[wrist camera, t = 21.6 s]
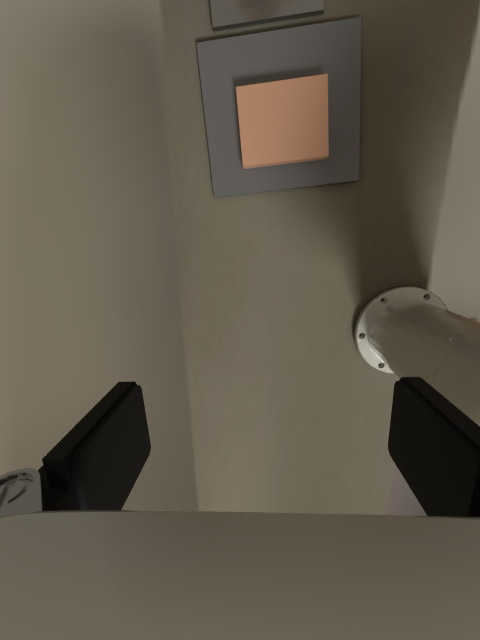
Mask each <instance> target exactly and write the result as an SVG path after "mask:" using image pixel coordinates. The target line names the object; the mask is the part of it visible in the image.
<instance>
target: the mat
mask: <svg viewBox="0 0 480 640" xmlns="http://www.w3.org/2000/svg"><path fill="white" fill-rule="evenodd" d="M361 34H362V17H357V18H350V19H344V20H338V21H331V22H325V23H319V24H312V25H306V26H299V27H293V28H287V29H280V30H274V31H268V32H261V33H255V34H248V35H242V36H236V37H229V38H223V39H217V40H210V41H204V42H197V43H196V44H197V52H198V61H199V70H200V79H201V88H202V96H203V105H204V114H205V123H206V131H207V140H208V149H209V158H210V166H211V175H212V184H213V193H214V197H222V196H230V195H239V194H248V193H256V192H265V191H274V190H283V189H291V188H300V187H309V186H317V185H326V184H335V183H344V182H352V181H359V168H360V101H361ZM322 74H328V142H329V156H328V157H327V159H322V160H314V161H306V162H297V163H289V164H281V165H273V166H264V167H256V168H248V169H243V163H242V151H241V139H240V128H239V116H238V105H237V93H236V87H238V86H245V85H252V84H259V83H266V82H273V81H280V80H287V79H294V78H301V77H308V76H315V75H322Z"/></svg>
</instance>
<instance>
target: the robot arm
mask: <svg viewBox="0 0 480 640" xmlns="http://www.w3.org/2000/svg"><path fill="white" fill-rule="evenodd" d="M424 295H425V296H424ZM382 298H383V300H382V301H381V299H382ZM360 333H362V334H361V335H359V334H360ZM354 339H355V344H356V347H357V350H358V352H359V353H360V355H361V356H362V358H363V359H364V360H365V361H366V362H367V363H368V364H369V365H371V366H372V367H373V368H375V369H377V370H379V371H382V372H386V373H392V374H396V375H397V376H398V377H399V378H400V380H399V381H396V382H395V385H394V394H393V403H392V413H391V422H390V432H389V441H388V449H389V453H390V456H391V457H392V459H393V461H394V462H395V464H396V466H397V467H398V469H399V470H400V472H401V474H402V475H403V477H404V479H405V480H406V482H407V483H408V485H409V487H410V488H411V490H412V491H413V493H414V495H415V496H416V498H417V499H418V501H419V503H420V504H421V506H422V508H423V509H424V511H425V513H426V514H427V516H409V515H407V516H405V515H367V514H319V513H267V512H208V511H131V510H126V511H125V510H121V509H122V507H123V505H124V503H125V501H126V500H127V498H128V496H129V494H130V492H131V490H132V488H133V486H134V484H135V482H136V480H137V478H138V476H139V474H140V472H141V470H142V468H143V466H144V464H145V462H146V460H147V458H148V456H149V454H150V449H151V444H150V438H149V432H148V425H147V420H146V413H145V407H144V401H143V395H142V389H141V387H140V386H139V385H137V384H136V383H135V382H119V383H117V384H116V385H115V386H114V387H113V388H112V389H111V390H110V391H109V392H108V393H107V394H106V395H105V396H104V397H103V398H102V399H101V400H100V401H99V402H98V403H97V404H96V405H95V407H93V408H92V409H91V410H90V411H89V413H88V414H87V415H85V417H83V418H82V419H81V421H79V422H78V423H77V424H76V426H75V427H74V428H73V429H72V430H71V431H70V432H69V433H68V434H67V435H66V436H65V437H64V438H63V439H62V440H61V441H60V442H59V443H58V444H57V445H56V446H55V447H54V448H53V449H52V450H51V451H50V452H49V453H48V454H47V455H46V456H45V457H44V458H43V459H42V461H43V464H44V465H43V466H42V467H41V468H40V469H39V470H38V471H37V470H35V469H32V468H24V469H18V470H15V471H11V472H9V473H6V474H4V475H2V476H0V640H480V322H479V320H478V319H477V318H466V317H463V316H461V315H458V314H455V313H452V312H450V311H448V309H447V308H446V306H445V304H444V303H443V302H442V300H441V299H440V298H439V297H437V296H436V295H435V294H433V293H432V292H429V291H427V290H425V289H421V288H418V287H410V286H404V287H396V288H392V289H389V290H386V291H384V292H382V293H380V294H379V295H377V296H376V297H374V298H373V299H372V300H371V301H370V302H369V303H367V304H366V306H365V307H364V308H363V310H362V311H361V312H360V315H359V317H358V319H357V321H356V325H355V330H354Z"/></svg>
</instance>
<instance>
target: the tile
mask: <svg viewBox="0 0 480 640" xmlns="http://www.w3.org/2000/svg"><path fill="white" fill-rule="evenodd" d="M236 93H237V105H238V116H239V128H240V139H241V151H242V163H243V169H248V168H256V167H264V166H273V165H281V164H289V163H297V162H306V161H314V160H322V159H327V157H328V156H329V142H328V74H322V75H315V76H308V77H301V78H294V79H287V80H280V81H273V82H266V83H259V84H252V85H245V86H238V87H236Z"/></svg>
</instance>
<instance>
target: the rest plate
mask: <svg viewBox="0 0 480 640" xmlns="http://www.w3.org/2000/svg"><path fill="white" fill-rule="evenodd" d="M210 6H211V16H212V26H213V31H219V30H225V29H231V28H238V27H244V26H250V25H257V24H263V23H269V22H275V21H282V20H288V19H294V18H301V17H307V16H313V15H319V14H323V11H324V0H210Z"/></svg>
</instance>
